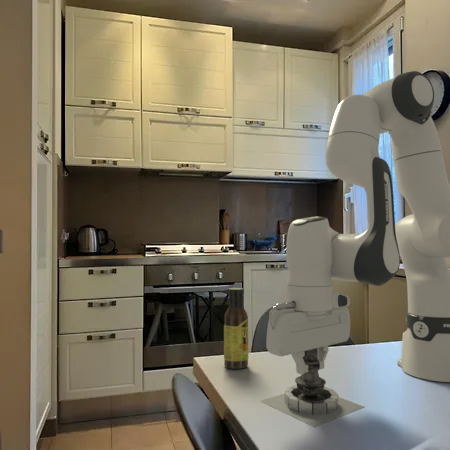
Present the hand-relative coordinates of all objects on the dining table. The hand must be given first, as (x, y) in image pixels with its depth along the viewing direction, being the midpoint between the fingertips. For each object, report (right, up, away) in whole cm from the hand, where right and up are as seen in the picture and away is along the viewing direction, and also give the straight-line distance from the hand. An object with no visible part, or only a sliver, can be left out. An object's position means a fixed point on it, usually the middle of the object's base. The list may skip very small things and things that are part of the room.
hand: (310, 371), depth 79 cm
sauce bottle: (-14, -8, +25) cm, 30 cm away
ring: (0, -6, 0) cm, 6 cm away
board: (0, -7, 0) cm, 7 cm away
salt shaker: (0, -6, 0) cm, 6 cm away
